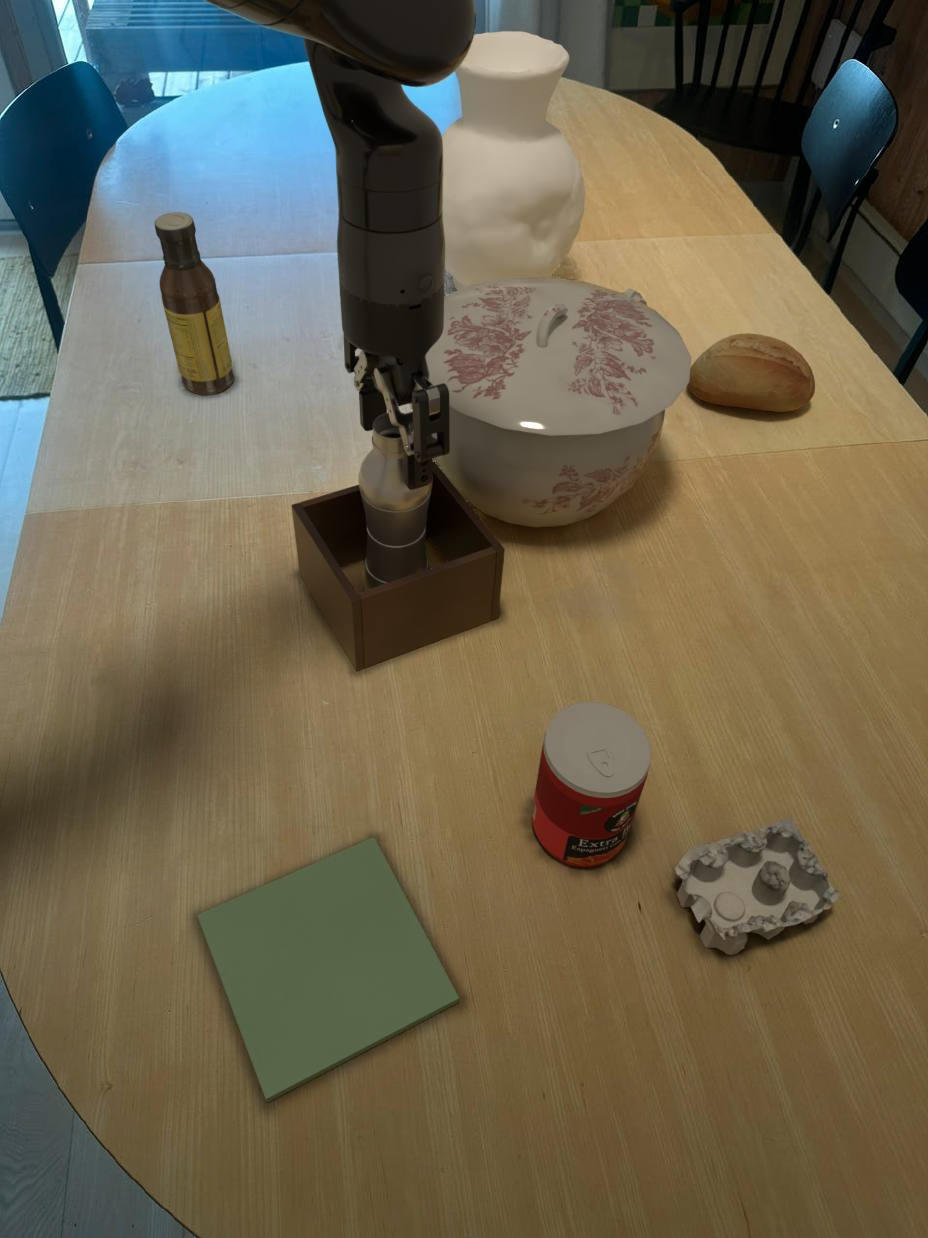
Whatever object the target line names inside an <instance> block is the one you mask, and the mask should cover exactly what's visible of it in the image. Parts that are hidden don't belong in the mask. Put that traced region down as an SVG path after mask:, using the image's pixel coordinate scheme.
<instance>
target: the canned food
mask: <svg viewBox="0 0 928 1238" xmlns="http://www.w3.org/2000/svg"><path fill="white" fill-rule="evenodd" d="M651 760H652V748H651V743H650V740H649V738H648V735H647V733H646V731H645V729H644V728H643V727H642V725H641V724H640V723H639V722H638V720H636V719H635V718H634V717H633V716H632V715H630V713H628V712H627V711H624V710H623V709H621V708H619V707H617V706H614V705H613V704H612V705H611V704H609V703H605V702H600V701H583V702H581V701H580V702H577V703H573V704H569V705H568V706H566V707H564V708H562V709H561V710H559V711H557V712H556V714H555V715H554V716H553V717H552V719H551V720H550V721H549V723H548V725H547V727H546V730H545V733H544V736H543V742H542V747H541V753H540V759H539V765H538V770H537V778H536V782H535V783H536V784H535V789H534V796H533V801H532V808H531V822H532V823H531V824H532V827H533V829H534V833H535V835H536V837H537V839H538V841H539V843H540V844H541V846H542V847H543V848H544V850H545V851H546V852H548V853H549V855H551V856H552V857H554V858H555V859H556V860H558V861H560V862H562V863H564V864H566V865H569V866H574V867H579V868H591V867H595V866H599V865H602V864H605V863H606V862H608V861H610V860H611V859H612V858H614V857H615V856H616V855H617V854H618V853H619V852H620V851H621V850H622V848H623V847H624V845H625V843H626V842H627V838H628V836H629V832H630V829H631V827H632V824H633V820H634V817H635V814H636V811H637V808H638V806H639V803H640V799H641V797H642V794H643V790H644V787H645V784H646V781H647V778H648V774H649V770H650V767H651Z"/></svg>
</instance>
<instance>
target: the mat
mask: <svg viewBox="0 0 928 1238" xmlns="http://www.w3.org/2000/svg"><path fill="white" fill-rule="evenodd" d="M196 917H197V919H198V922H199V925H200V927H201V930H202V934H203V935H204V939H205V941H206V944H207V946H208V949H209V951H210V955H211V958H212V960H213V963H214V966H215V968H216V970H217V973H218V976H219V979H220V982H221V983H222V987H223V989H224V990H223V991H224V992H225V995H226V998H227V1000H228V1003H229V1006H230V1008H231V1011H232V1013H233V1016H234V1019H235V1022H236V1025H237V1027H238V1030H239V1033H240V1034H241V1037H242V1040H243V1043H244V1046H245V1049H246V1052H247V1053H248V1056H249V1059H250V1062H251V1065H252V1067H253V1070H254V1073H255V1076H256V1078H257V1080H258V1083H259V1086H260V1089H261V1092H262V1094H263V1097H264V1099H265V1102H266V1103H267V1104H268V1103H269V1102H271V1101H273V1100H276V1099H277V1098H279V1097H281V1096H283V1095H285V1094H286V1093H289V1092H291V1091H292V1090H294V1089H296V1088H298V1087H300V1086H302V1085H305V1084H306V1083H308V1082H310V1081H312V1080H314V1079H315V1078H318V1077H319V1076H321V1075H323V1074H326V1073H327V1072H329V1071H331V1070H333V1069H334V1068H336V1067H338V1066H340V1065H342V1064H344V1063H346V1062H348V1061H350V1060H352V1059H353V1058H357V1056H359V1055H361V1054H363V1053H365V1052H367V1051H369V1050H372V1049H373V1048H374V1047H377V1046H378V1045H381V1044H383V1043H384V1042H386V1041H388V1040H390V1039H391V1038H393V1037H395V1036H398V1035H399V1034H401V1033H404V1032H405V1031H407V1030H409V1029H411V1028H413V1027H415V1026H416V1025H419V1024H420V1023H422V1022H424V1021H426V1020H428V1019H430V1018H432V1017H433V1016H436V1015H437V1014H440V1013H441V1012H443V1011H445V1010H447V1009H449V1008H452V1007H453V1006H455V1005H457V1004H458V1003H459V1002H460V996H459V994H458V993H457V991H456V989H455V987H454V985H453V983H452V981H451V979H450V977H449V976H448V974H447V972H446V970H445V968H444V966H443V964H442V962H441V960H440V959H439V957H438V955H437V953H436V951H435V949H434V946H433V945H432V943H431V942H430V939H429V938H428V936H427V933H426V932H425V930H424V928H423V925H422V924H421V923H420V921H419V919H418V917H417V914H416V913H415V911H414V909H413V908H412V905H411V903H410V901H409V900H408V898H407V895H406V894H405V893H404V890H403V888H402V886H401V884H400V883H399V881H398V879H397V877H396V875H395V874H394V871H393V870H392V868H391V866H390V864H389V862H388V860H387V859H386V857H385V855H384V852H383V851H382V849H381V847H380V845H379V844H378V841H377V839H376V838H375V836H373V837H370V838H368V839H366V840H363V841H361V842H359V843H357V844H354V845H352V846H350V847H347V848H345V849H343V850H340V851H338V852H336V853H334V854H331V855H329V856H327V857H325V858H322V859H320V860H317V861H315V862H313V863H311V864H309V865H307V866H304V867H302V868H299V869H297V870H295V871H292V872H291V873H288V874H286V875H284V876H282V877H279V878H277V879H274V880H273V881H269V882H268V883H266V884H264V885H262V886H261V885H260V886H259V887H257V888H254V889H252V890H249V891H248V892H246V893H243V894H241V895H238V896H236V897H234V898H232V899H230V900H227V901H225V902H223V903H221V904H219V905H216V906H214V907H212V908H209V909H207V910H205V911H203V912H200V913H198V914H197V915H196Z"/></svg>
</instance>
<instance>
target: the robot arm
mask: <svg viewBox="0 0 928 1238" xmlns="http://www.w3.org/2000/svg"><path fill="white" fill-rule="evenodd" d="M202 1H203V2H204V3H207V4H209V5H211V6H214V7H216V8H218V9H221V10H223V11H225V12H228V13H230V14H232V15H235V16H237V17H239V18H241V19H244V20H246V21H248V22H250V23H253V24H255V25H258V26H261V27H263V28H266V29H269V30H273V31H276V32H280V33H283V34H287V35H288V34H289V35H292V36H296V37H299V38H302V40H303V44H304V49H305V53H306V57H307V60H308V64H309V67H310V71H311V74H312V78H313V81H314V85H315V88H316V92H317V95H318V98H319V102H320V105H321V109H322V112H323V116H324V120H325V122H326V125H327V128H328V131H329V133H330V136H331V139H332V143H333V145H334V152H335V154H334V155H335V172H336V173H335V174H336V190H337V207H338V211H337V212H338V219H337V222H338V223H337V231H336V233H337V234H336V253H337V255H336V256H337V270H338V285H339V301H340V303H339V304H340V314H341V315H340V317H341V330H342V332H343V354H344V355H343V357H344V369H345V370H346V372H347V373H348V374H352V373H354V376H353V386H354V388H355V390H356V391H358V404H359V407H358V408H359V423H360V426H361V427H362V428H363V430H364V432H371V431H373V422H374V420H375V419H376V418H377V417H378V416H380V415H382V414H384V413H388V414H389V418H390V421H391V424H392V425H393V426H396V427H398V428H399V431H400V434H401V438H402V441H403V445H404V483H405V485H406V486H407V487H408V489H410V490H414V489H417V488H420V487H423V486H427V485H429V484H430V483H431V482H432V475H433V462H434V458H435V457H439V456H443V455H447V454H449V452H450V417H449V390H448V387H447V385H446V384H445V383H442V384H438V385H433V384H432V383H431V382H430V381H429V376H430V373H429V369H428V365H427V362H426V354H427V352H428V351H429V350H430V348H431V347H432V346H433V345H434V344H435V343H436V342H437V341H438V340H439V338H440V337H441V335H442V332H443V328H444V296H445V285H446V283H445V281H446V270H445V233H444V226H443V211H442V210H443V140H442V133H441V130H440V128H439V126H438V125H437V123H436V122H435V121H434V120H433V119H432V118H431V117H430V116H429V115H427V113H425V112H424V111H423V110H421V108H419V107H418V106H417V105H415V103H414V102H412V100H411V99H410V98H409V97H408V95H407V94H406V92H405V90H404V88H403V86H405V87H410V88H424V87H425V88H426V87H429V86H434V85H435V84H438V83H439V84H440V83H441V82H442V81H444V80H446V79H447V78H449V77H450V76H451V75H453V74H454V73H455V70H457V68H458V67H459V66H460V65H461V63H462V62H463V60H464V59H465V57H466V55H467V54H468V51H469V49H470V47H471V44H472V41H473V37H474V35H475V32H476V25H477V12H476V11H477V10H476V3H475V0H202ZM357 350H361V351H360V352H359V354H358V355H356V351H357ZM406 405H409V406H410V408H411V409H412V411H409V412H402V411H401V410H400V408H399V407H402V406H406ZM404 413H405V414H404ZM411 422H413V435H414V438H413V436H412V433H411V429H410V423H411ZM436 433H437V434H436Z"/></svg>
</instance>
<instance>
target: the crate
mask: <svg viewBox="0 0 928 1238" xmlns="http://www.w3.org/2000/svg"><path fill="white" fill-rule="evenodd" d="M291 513H292V522H293V530H294V537H295V546H296V555H297V562H298V563H297V564H298V570H299V577H300V578H301V580H302V582H303V583H304V585H305V587H306V588H307V590H308V591H309V593H310V595H311V596H312V598H313V600H314V601H315V603H316V605H317V606H318V608H319V610H320V612H321V613H322V615H323V617H324V618H325V620H326V623H328V625H329V627H330V629H331V630H332V632H333V634H334V635H335V637H336V639H337V640H338V642H339V644H340V646H341V647H342V649H343V651H344V652H345V654H346V656H347V657H348V659H349V661H350V662H351V664H352V666H353V668H354V669H355V671H356V672H358V671H361V670H363V669H366V668H370V667H371V666H374V665H377V664H379V663H382V662H385V661H388V660H390V659H393V658H396V657H398V656H400V655H404V654H406V653H409V652H412V651H413V650H416V649H420V648H422V647H424V646H427V645H431V644H433V643H436V642H438V641H440V640H444V639H447V638H449V637H451V636H454V635H456V634H459V633H462V632H464V631H468V630H470V629H473V628H475V627H478V626H481V625H484V624H487V623H489V622H492V621H495V620H497V619H499V613H500V602H501V593H502V592H501V590H502V583H503V582H502V581H503V570H504V563H505V562H504V561H505V552H506V551H505V550H506V549H505V547H504V546H503V545H502V543H500V541H499V540H498V538H496V537H495V535H494V534H493V533H492V531H491V530H490V529H489V528H488V527H487V525H486V523H484V521H483V520H482V519H481V517H479V515H478V514H477V513H476V511H475V510H474V509H473V508H472V507H471V504H470V503H469V502H468V501H467V500H465V499H464V498H463V497H462V495H461V494H460V493H459V492H458V490H457V489H456V488H455V487H454V485H453V484H452V483H451V482H450V480H449V479H448V478H447V477H446V475H445V474H444V473H443V472H442V470H441V469H440V467H439V466H438V464H437V463H436V461H433V482H432V489H431V494H430V499H429V504H428V509H427V519H426V531H425V539H426V540H428V539H430V540H431V542H432V543H433V544H434V546H435V547H436V549H437V550H438V551H439V552H440V554H441V555H442V556H443V558H444V560H445V561H446V562H443V563H441V564H438V565H435V566H432V567H430V568H429V569H426V570H423V571H420V572H417V573H414V574H412V575H409V576H406V577H403V578H400V579H397V580H394V581H391V582H388V583H385V584H382V585H380V586H377V587H374V588H371V589H368V590H362V591H359V592H356V590H355V588H354V587H353V585H352V583H351V582H350V581H349V579H348V578H347V577H348V576H347V575H346V573H345V572H344V571H343V569H342V567H346V566H348V565H352V564H354V563H358V562H360V561H363V560H365V559H366V553H367V537H368V534H367V525H366V516H365V510H364V505H363V501H362V497H361V492H360V488H359V484H356V485H353V486H349V487H345V488H343V489H339V490H335V491H332V492H330V493H326V494H323V495H319V496H316V497H313V498H309V499H306V500H303V501H300V502H296V503H293V504H291Z"/></svg>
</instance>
